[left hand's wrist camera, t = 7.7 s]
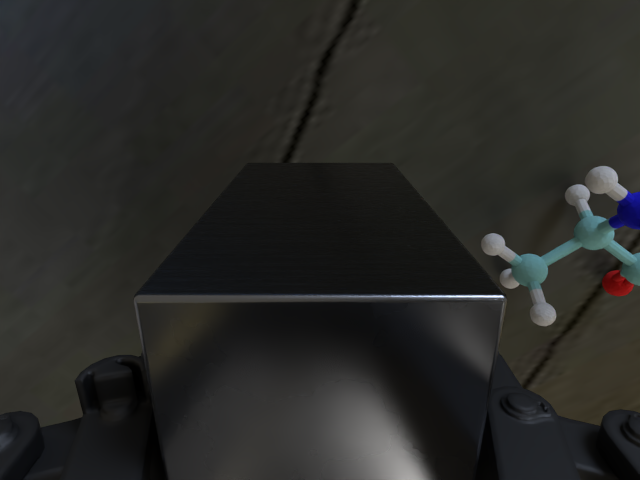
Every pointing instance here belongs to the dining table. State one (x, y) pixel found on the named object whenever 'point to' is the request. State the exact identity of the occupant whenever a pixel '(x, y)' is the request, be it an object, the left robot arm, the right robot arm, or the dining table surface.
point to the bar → (320, 333)
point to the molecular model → (577, 244)
